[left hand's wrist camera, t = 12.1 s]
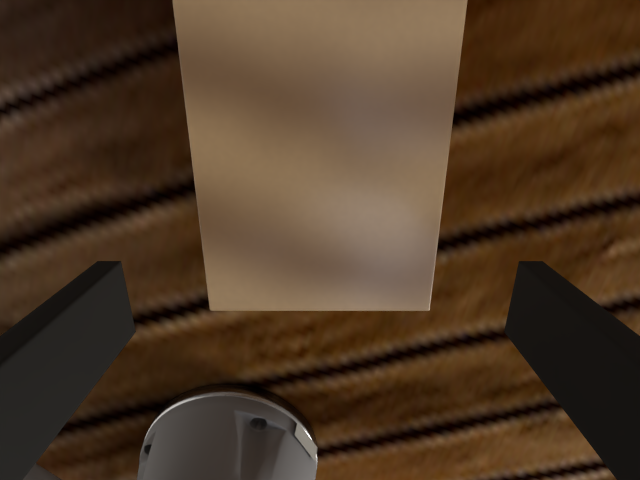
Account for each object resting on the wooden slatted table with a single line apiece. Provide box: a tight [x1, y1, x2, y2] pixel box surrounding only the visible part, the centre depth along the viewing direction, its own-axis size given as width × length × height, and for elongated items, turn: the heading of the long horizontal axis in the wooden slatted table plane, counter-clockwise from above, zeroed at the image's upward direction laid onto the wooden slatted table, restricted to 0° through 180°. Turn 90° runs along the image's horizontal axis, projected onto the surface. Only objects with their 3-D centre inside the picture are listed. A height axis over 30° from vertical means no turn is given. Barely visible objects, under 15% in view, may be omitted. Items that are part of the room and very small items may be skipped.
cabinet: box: [172, 0, 467, 311], centre depth 19 cm, size 20×11×9 cm, turn 0°
